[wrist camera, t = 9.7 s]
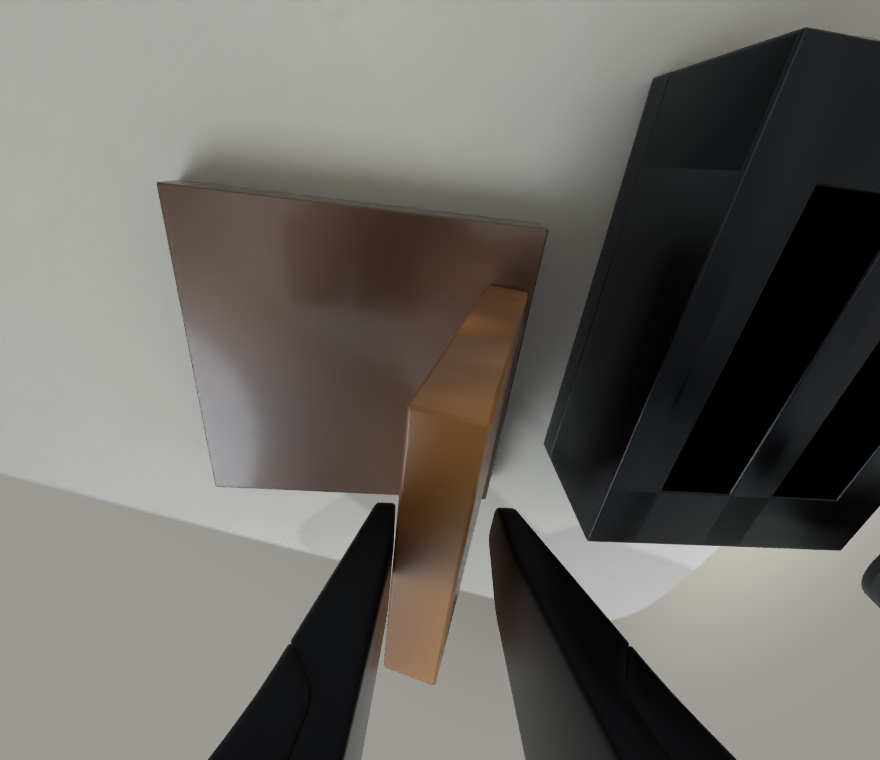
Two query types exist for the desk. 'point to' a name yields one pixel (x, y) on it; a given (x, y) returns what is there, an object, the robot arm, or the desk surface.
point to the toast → (447, 479)
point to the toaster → (736, 310)
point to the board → (326, 324)
